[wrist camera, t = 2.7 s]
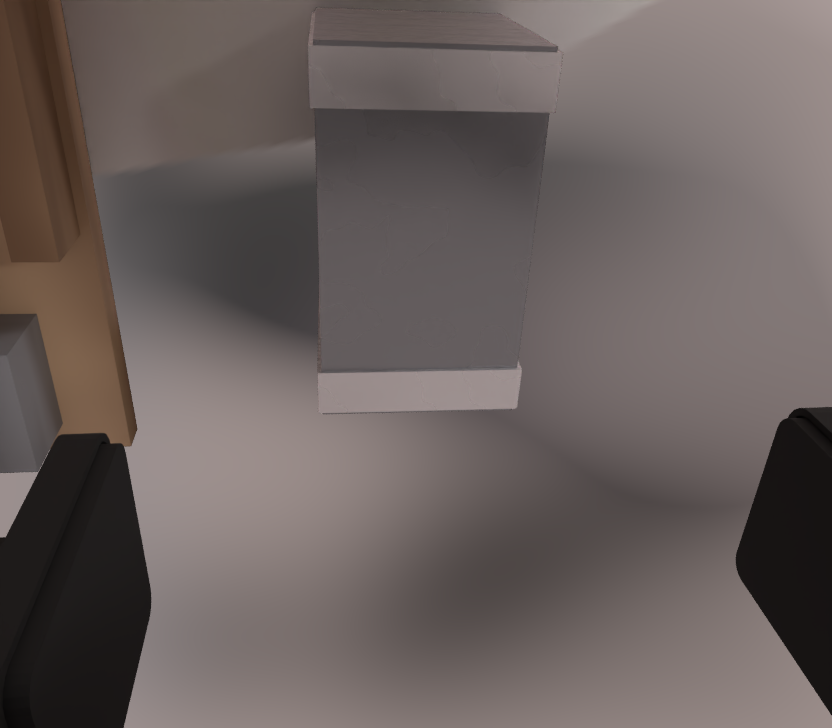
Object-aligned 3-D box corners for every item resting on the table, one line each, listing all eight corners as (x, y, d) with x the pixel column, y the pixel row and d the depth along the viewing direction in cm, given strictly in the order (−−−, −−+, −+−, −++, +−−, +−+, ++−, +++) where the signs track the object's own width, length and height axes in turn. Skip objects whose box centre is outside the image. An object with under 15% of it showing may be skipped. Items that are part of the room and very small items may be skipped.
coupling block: (503, 14, 21) (563, 47, 15) (476, 308, 25) (516, 411, 20) (312, 7, 20) (307, 40, 15) (320, 310, 25) (318, 416, 19)
